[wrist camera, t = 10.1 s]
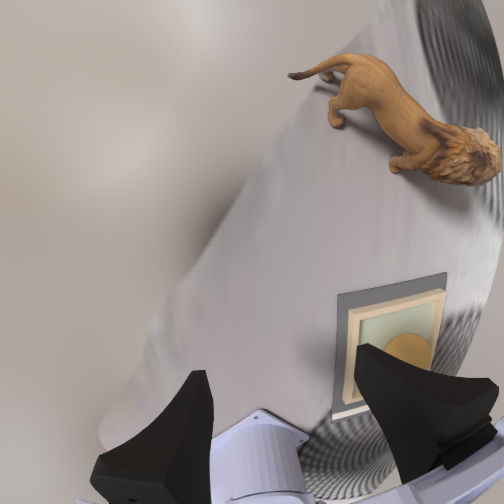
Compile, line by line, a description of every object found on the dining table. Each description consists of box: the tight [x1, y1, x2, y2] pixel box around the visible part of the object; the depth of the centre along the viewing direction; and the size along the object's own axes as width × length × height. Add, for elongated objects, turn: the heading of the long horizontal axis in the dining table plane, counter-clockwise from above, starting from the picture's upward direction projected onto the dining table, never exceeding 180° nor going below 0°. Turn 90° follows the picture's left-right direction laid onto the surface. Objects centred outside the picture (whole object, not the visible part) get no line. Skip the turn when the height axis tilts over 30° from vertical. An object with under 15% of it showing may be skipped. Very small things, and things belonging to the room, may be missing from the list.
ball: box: [384, 333, 431, 370], centre depth 21 cm, size 5×5×5 cm
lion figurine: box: [288, 54, 502, 186], centre depth 14 cm, size 15×5×9 cm, turn 66°
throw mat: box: [331, 272, 447, 424], centre depth 23 cm, size 16×12×1 cm
